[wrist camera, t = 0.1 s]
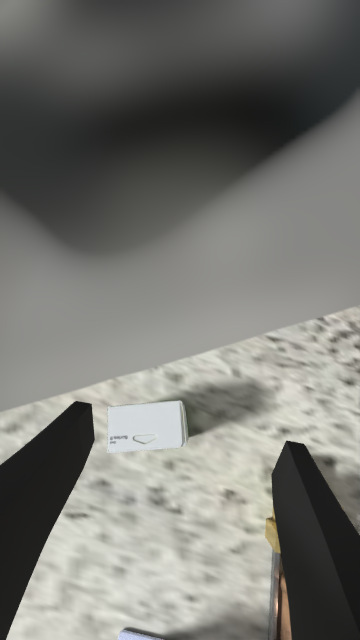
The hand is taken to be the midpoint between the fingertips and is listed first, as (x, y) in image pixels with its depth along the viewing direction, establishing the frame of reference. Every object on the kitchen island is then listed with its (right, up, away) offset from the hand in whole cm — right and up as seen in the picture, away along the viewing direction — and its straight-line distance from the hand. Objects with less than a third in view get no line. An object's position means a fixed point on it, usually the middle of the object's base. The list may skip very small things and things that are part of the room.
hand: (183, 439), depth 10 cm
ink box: (-3, -11, +31) cm, 33 cm away
